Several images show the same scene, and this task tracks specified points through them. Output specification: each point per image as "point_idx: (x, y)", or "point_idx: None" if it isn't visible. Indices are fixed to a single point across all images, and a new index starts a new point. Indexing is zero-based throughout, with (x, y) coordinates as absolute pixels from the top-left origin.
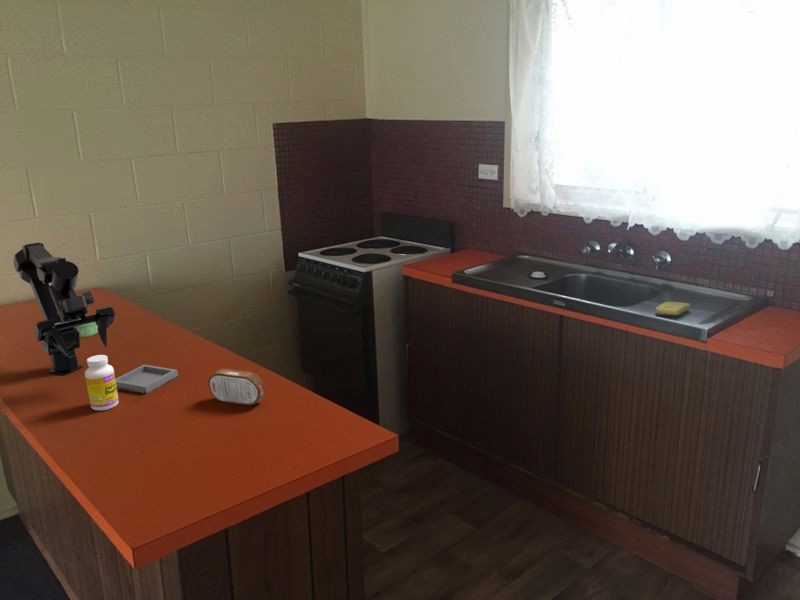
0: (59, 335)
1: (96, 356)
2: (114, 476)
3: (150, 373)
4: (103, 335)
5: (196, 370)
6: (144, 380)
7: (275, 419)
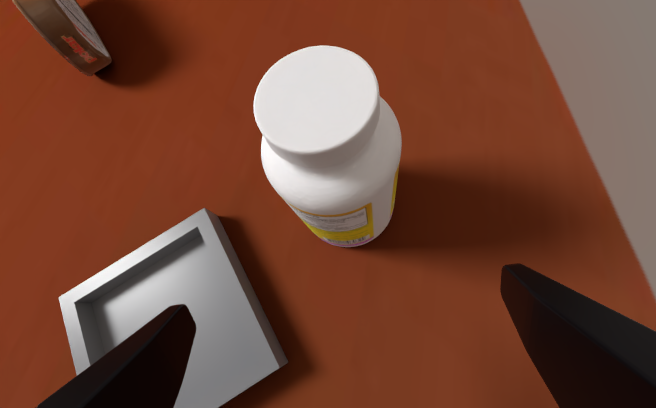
0: None
1: (309, 129)
2: None
3: None
4: (105, 374)
5: (18, 313)
6: None
7: None
